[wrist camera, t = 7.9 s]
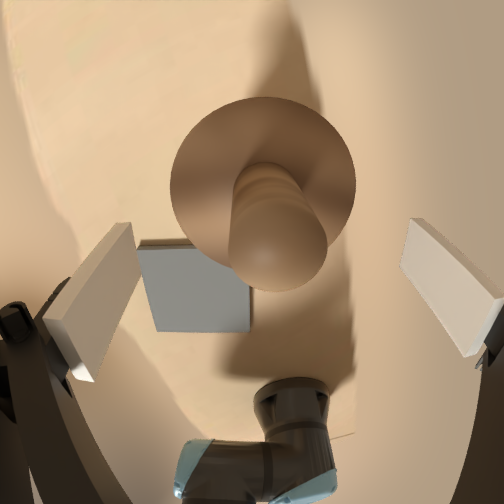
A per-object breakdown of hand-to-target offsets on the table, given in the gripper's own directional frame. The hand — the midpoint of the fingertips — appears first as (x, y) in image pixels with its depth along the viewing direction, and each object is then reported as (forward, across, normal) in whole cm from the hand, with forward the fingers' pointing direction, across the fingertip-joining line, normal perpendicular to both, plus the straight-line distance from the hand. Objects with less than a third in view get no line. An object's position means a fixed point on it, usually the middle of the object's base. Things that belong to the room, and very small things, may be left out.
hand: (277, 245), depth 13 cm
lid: (+7, 0, 0) cm, 7 cm away
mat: (+21, +8, +17) cm, 28 cm away
